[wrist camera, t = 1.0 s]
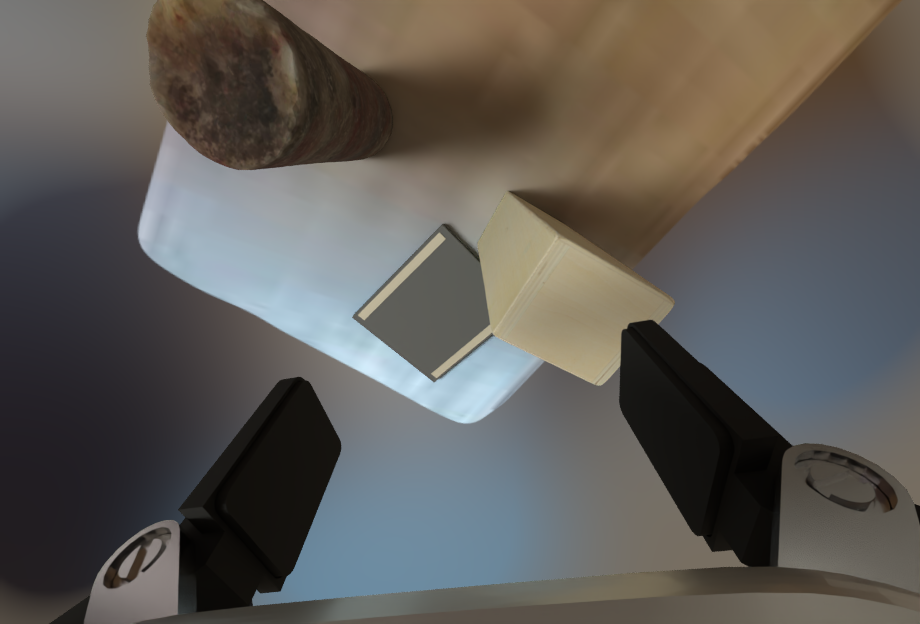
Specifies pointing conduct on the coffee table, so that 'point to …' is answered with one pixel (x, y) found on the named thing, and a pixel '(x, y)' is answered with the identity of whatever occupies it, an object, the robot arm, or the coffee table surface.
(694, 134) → the coffee table surface
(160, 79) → the brown rounded cylinder
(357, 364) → the coffee table surface
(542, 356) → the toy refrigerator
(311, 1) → the coffee table surface
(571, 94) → the coffee table surface
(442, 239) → the mat
